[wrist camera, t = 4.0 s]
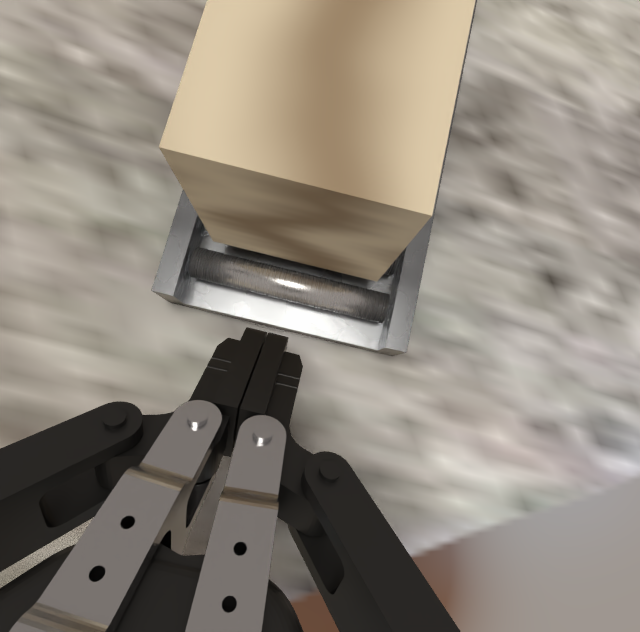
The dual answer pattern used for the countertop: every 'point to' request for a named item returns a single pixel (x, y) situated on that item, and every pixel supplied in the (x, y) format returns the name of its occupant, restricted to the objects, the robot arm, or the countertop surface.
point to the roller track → (294, 285)
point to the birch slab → (318, 125)
